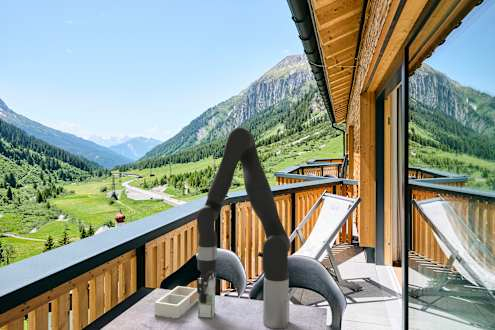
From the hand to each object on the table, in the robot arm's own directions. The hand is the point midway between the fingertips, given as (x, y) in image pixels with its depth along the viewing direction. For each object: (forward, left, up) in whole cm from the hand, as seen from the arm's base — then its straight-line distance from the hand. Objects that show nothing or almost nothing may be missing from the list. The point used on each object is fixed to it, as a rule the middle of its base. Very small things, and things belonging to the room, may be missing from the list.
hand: (206, 299), depth 141 cm
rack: (+14, -3, -6) cm, 16 cm away
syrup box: (0, 0, -6) cm, 6 cm away
